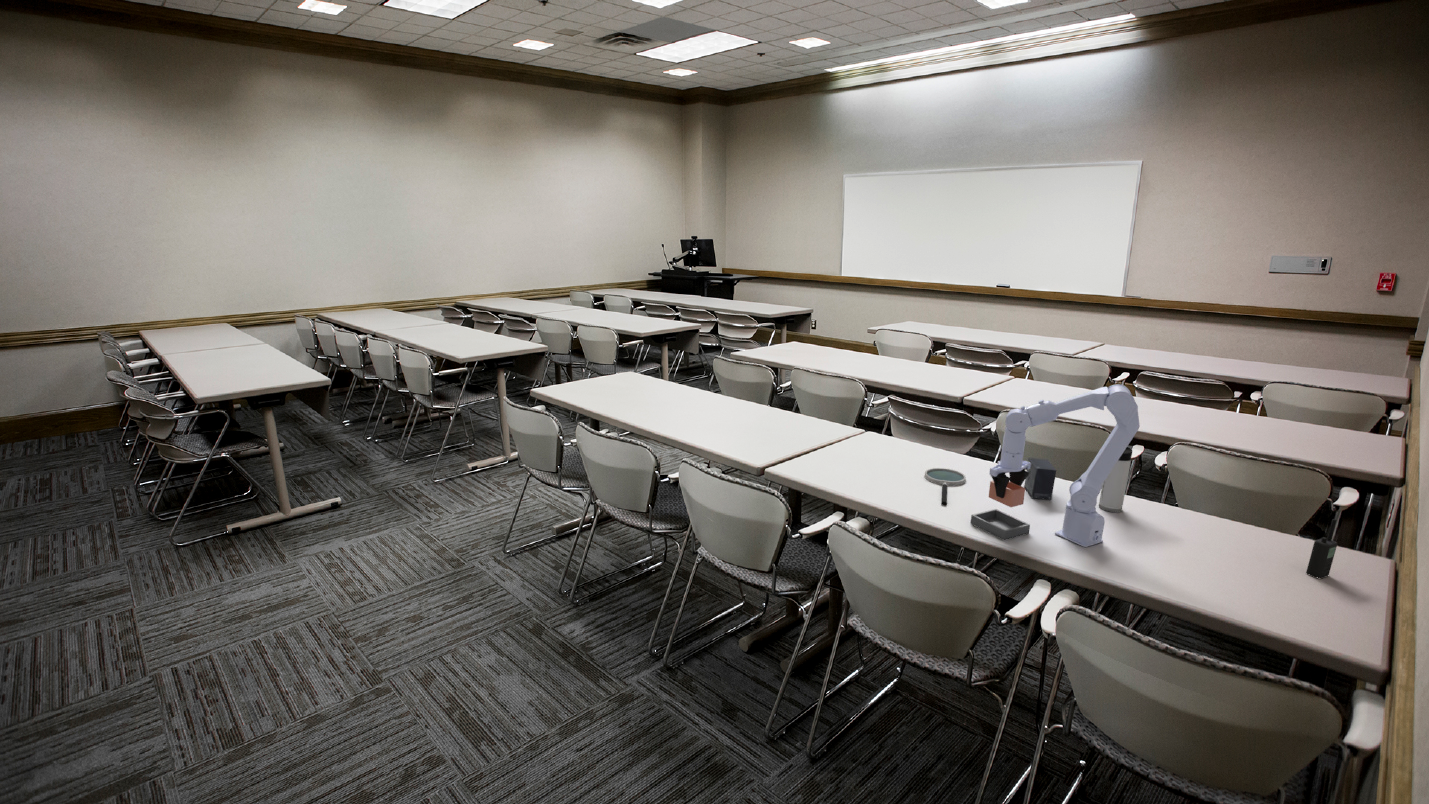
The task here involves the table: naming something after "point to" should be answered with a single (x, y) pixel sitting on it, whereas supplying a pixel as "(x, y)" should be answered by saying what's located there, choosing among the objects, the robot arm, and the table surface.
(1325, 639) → the table surface
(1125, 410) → the robot arm
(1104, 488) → the travel mug
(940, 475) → the magnifying glass
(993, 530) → the charcoal crate
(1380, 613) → the table surface
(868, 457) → the table surface
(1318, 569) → the walkie-talkie
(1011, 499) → the terracotta crate
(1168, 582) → the table surface
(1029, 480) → the small box
